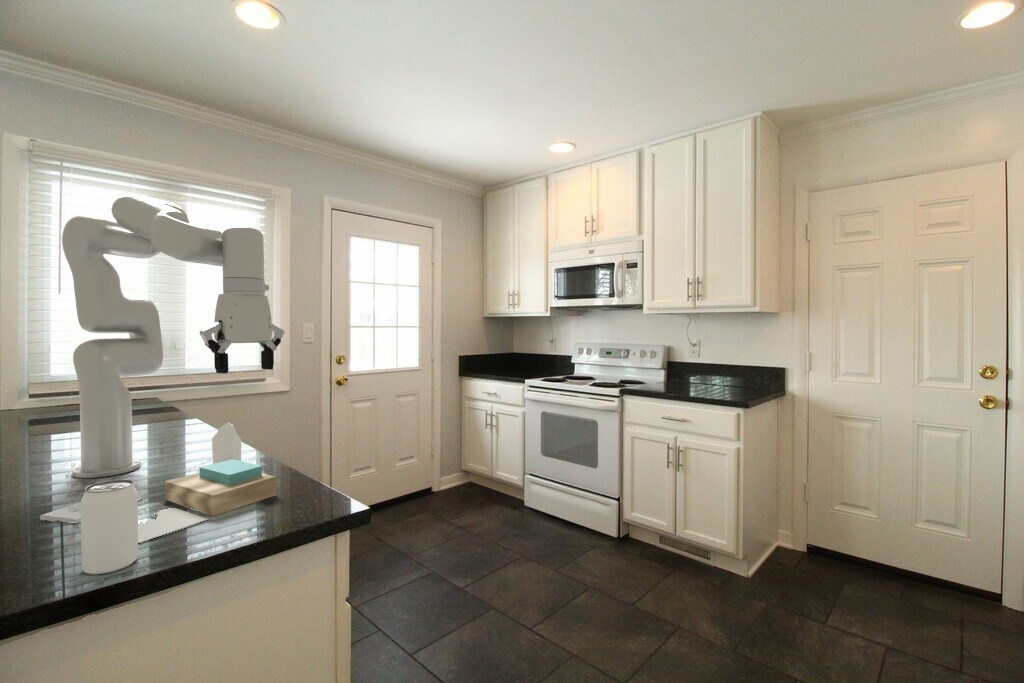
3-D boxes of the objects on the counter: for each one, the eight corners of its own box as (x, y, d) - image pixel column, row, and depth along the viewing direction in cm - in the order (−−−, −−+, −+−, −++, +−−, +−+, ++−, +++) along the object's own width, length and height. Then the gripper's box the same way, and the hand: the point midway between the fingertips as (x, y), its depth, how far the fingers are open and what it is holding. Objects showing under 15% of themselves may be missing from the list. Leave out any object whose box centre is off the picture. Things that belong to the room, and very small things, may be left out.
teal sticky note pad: (199, 476, 101) (199, 467, 101) (232, 468, 107) (232, 459, 107) (229, 484, 96) (229, 474, 96) (261, 475, 103) (261, 466, 102)
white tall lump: (211, 426, 112) (212, 422, 117) (212, 478, 112) (212, 471, 117) (241, 424, 115) (240, 420, 120) (241, 474, 115) (241, 468, 120)
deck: (165, 500, 98) (165, 481, 98) (228, 482, 110) (228, 465, 109) (212, 516, 91) (212, 495, 90) (275, 495, 102) (275, 476, 102)
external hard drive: (142, 502, 99) (76, 527, 87) (109, 499, 100) (39, 522, 88) (142, 494, 99) (76, 518, 86) (108, 491, 100) (39, 513, 88)
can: (104, 555, 75) (102, 478, 75) (148, 554, 76) (147, 478, 75) (69, 576, 69) (68, 493, 68) (118, 575, 69) (117, 492, 69)
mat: (86, 521, 88) (86, 520, 87) (154, 502, 97) (154, 500, 97) (139, 544, 79) (138, 542, 79) (207, 520, 89) (207, 518, 89)
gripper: (271, 291, 110) (272, 367, 110) (189, 286, 95) (191, 373, 95) (292, 290, 106) (294, 368, 107) (211, 284, 91) (213, 375, 92)
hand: (245, 371), depth 101 cm, fingers open, 9 cm apart
